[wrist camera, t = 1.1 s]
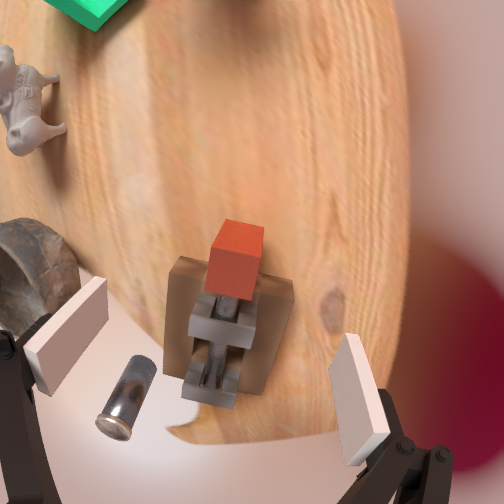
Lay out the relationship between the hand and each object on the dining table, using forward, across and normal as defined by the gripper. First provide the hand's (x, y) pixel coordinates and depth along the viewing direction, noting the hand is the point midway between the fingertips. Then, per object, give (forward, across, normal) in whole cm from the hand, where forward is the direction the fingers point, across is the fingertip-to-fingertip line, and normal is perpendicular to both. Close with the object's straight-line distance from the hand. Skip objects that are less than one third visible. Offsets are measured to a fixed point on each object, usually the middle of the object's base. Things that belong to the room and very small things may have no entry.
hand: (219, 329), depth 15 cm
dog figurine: (+16, -26, +11) cm, 33 cm away
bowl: (+16, -24, -9) cm, 30 cm away
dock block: (+16, 0, -11) cm, 19 cm away
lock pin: (+13, 0, -7) cm, 15 cm away
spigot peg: (+16, -10, -22) cm, 29 cm away
